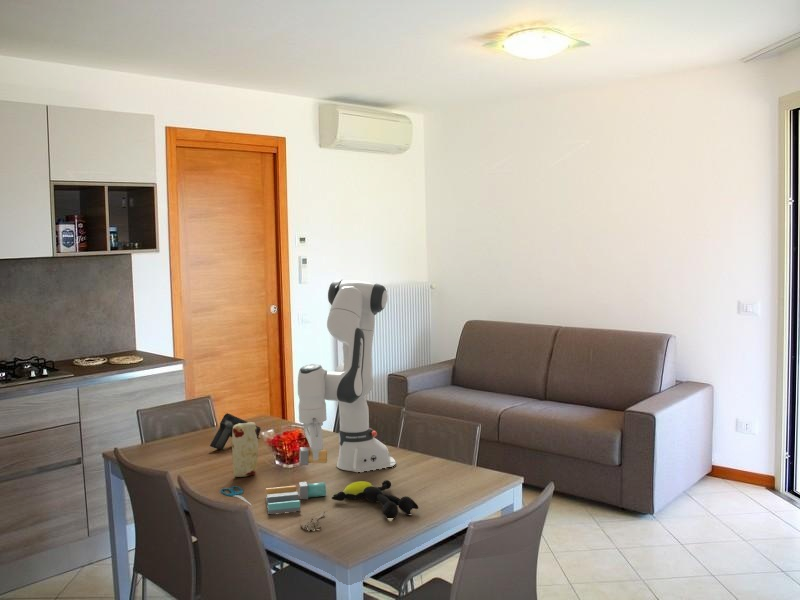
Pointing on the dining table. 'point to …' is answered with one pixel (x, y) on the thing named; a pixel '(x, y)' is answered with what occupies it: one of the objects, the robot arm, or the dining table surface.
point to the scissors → (235, 493)
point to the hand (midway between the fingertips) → (314, 457)
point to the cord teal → (311, 490)
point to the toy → (377, 497)
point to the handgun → (227, 430)
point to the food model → (244, 449)
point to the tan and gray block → (311, 456)
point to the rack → (282, 499)
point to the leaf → (312, 526)
